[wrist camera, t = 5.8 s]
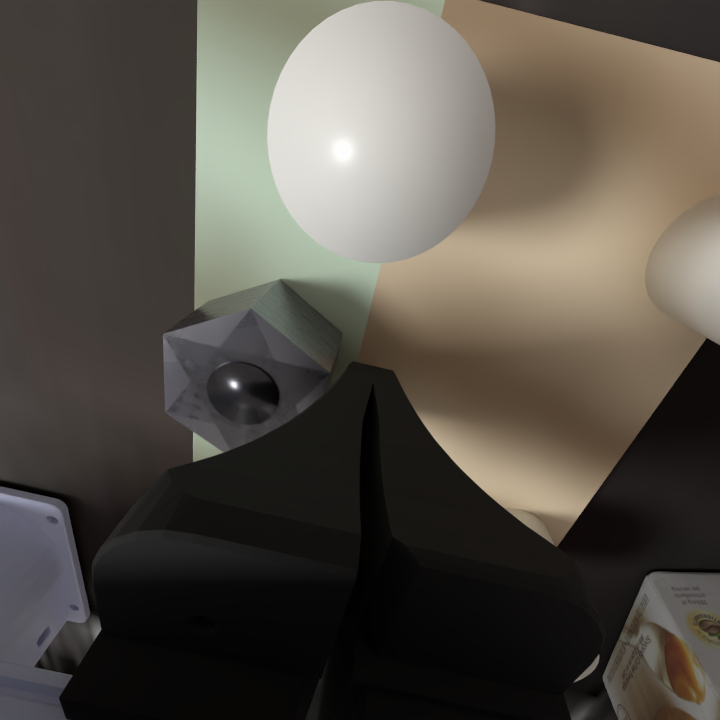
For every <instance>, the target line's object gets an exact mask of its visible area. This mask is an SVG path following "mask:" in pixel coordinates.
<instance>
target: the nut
mask: <svg viewBox="0 0 720 720" xmlns="http://www.w3.org/2000/svg"><path fill="white" fill-rule="evenodd" d="M342 334H343V333H342V332H341V331H340V330H339V329H338V328H337V327H335V326H334V325H333V324H332V323H331V322H330V321H328V320H327V319H326V318H325V317H324V316H323V315H321V314H320V313H319V312H318V311H317V310H316V309H315V308H313V307H312V306H311V305H310V304H309V303H308V302H306V301H305V300H304V299H303V298H302V297H301V296H300V295H298V294H297V293H296V292H295V291H294V290H293V289H291V288H290V287H289V286H288V285H287V284H286V283H284V282H283V281H282V280H281V279H278V280H275V281H272V282H268V283H265V284H262V285H258V286H255V287H252V288H249V289H245V290H242V291H239V292H235V293H232V294H229V295H226V296H222V297H219V298H216V299H212V300H209V301H207V302H206V303H204V304H203V305H202V306H200V307H199V308H198V309H196V310H195V311H193V312H192V313H191V314H189V315H188V316H187V317H185V318H184V319H183V320H181V321H180V322H179V323H177V324H176V325H174V326H173V327H172V328H170V329H169V330H168V331H166V332H165V333H164V334H163V354H164V388H165V413H167V414H168V415H169V416H171V417H172V418H174V419H175V420H177V421H178V422H180V423H181V424H183V425H184V426H186V427H187V428H188V429H190V430H191V431H193V432H194V433H196V434H197V435H199V436H200V437H202V438H203V439H205V440H206V441H207V442H209V443H210V444H212V445H213V446H215V447H216V448H218V449H219V450H221V451H222V452H226V451H229V450H232V449H234V448H237V447H239V446H242V445H244V444H246V443H249V442H251V441H253V440H255V439H257V438H259V437H261V436H263V435H265V434H267V433H269V432H271V431H272V430H274V429H276V428H278V427H279V426H281V425H283V424H285V423H286V422H288V421H289V420H291V419H292V418H294V417H295V416H297V415H298V414H300V413H301V412H302V411H304V410H305V409H306V408H308V407H309V406H310V405H311V404H313V403H314V402H315V401H316V400H317V399H318V398H320V397H321V396H322V395H323V394H324V393H325V392H326V391H327V390H328V389H329V388H330V387H331V385H332V380H333V375H334V371H335V366H336V362H337V357H338V352H339V348H340V343H341V339H342Z"/></svg>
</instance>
